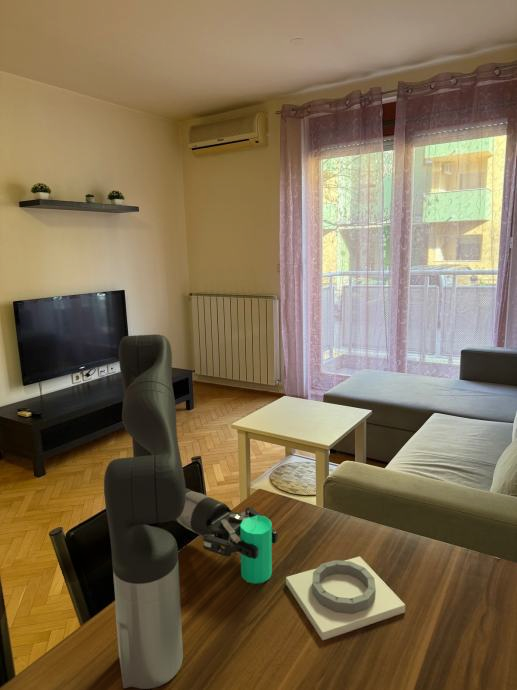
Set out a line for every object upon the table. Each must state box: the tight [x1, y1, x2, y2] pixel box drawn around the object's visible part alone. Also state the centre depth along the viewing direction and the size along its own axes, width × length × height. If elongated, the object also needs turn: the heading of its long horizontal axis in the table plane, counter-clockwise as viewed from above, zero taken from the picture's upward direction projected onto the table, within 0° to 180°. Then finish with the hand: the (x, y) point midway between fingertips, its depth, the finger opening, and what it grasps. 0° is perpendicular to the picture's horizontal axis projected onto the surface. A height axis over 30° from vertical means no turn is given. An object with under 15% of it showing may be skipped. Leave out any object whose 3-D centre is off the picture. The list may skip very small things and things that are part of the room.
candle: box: [239, 515, 273, 584], centre depth 91 cm, size 6×6×12 cm
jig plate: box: [285, 555, 406, 641], centre depth 85 cm, size 16×14×4 cm
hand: (266, 545), depth 89 cm, fingers open, 5 cm apart
